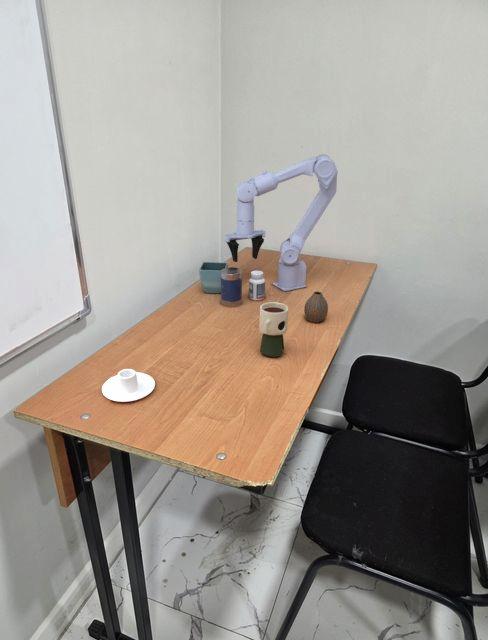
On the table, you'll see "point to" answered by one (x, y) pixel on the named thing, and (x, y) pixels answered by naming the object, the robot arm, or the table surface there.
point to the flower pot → (211, 276)
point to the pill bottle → (257, 286)
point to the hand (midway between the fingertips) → (244, 259)
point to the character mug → (273, 328)
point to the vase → (316, 308)
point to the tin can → (231, 287)
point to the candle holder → (128, 386)
